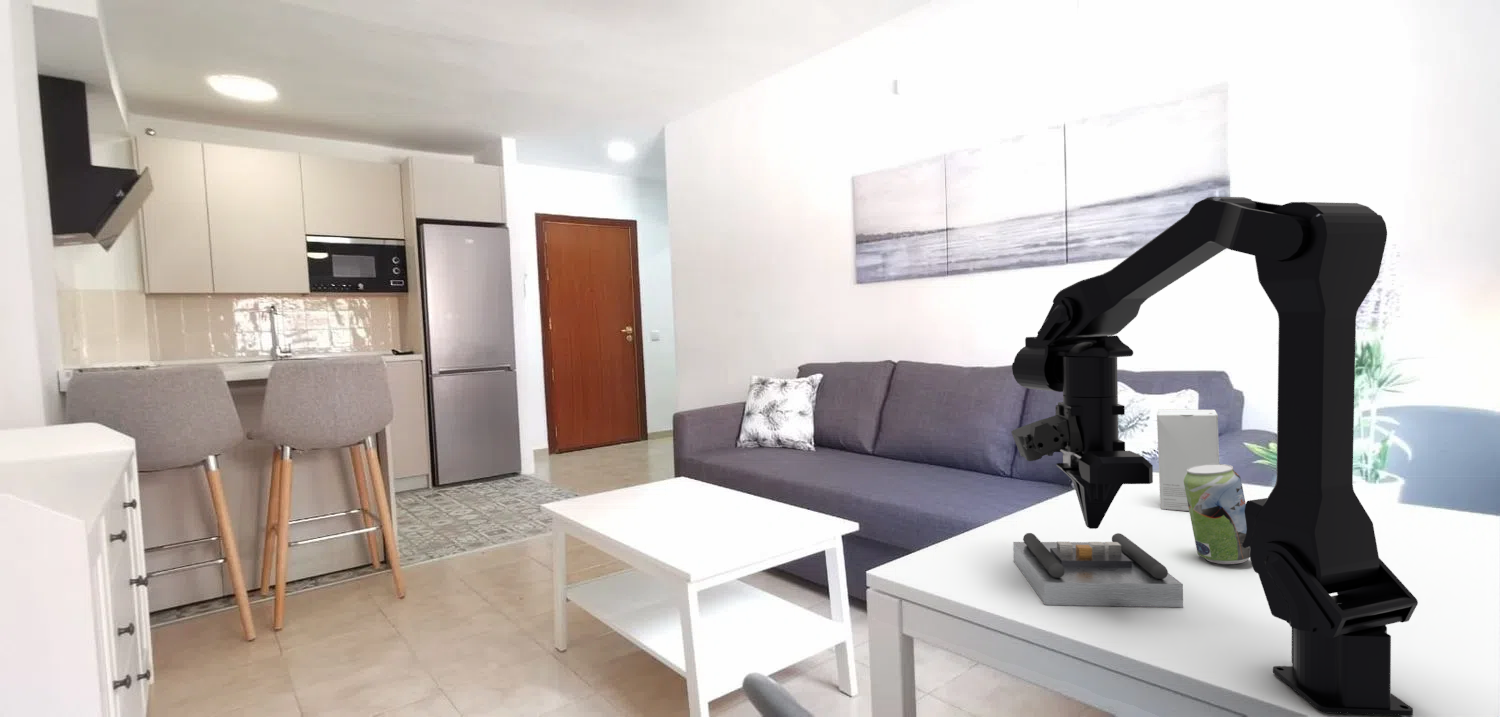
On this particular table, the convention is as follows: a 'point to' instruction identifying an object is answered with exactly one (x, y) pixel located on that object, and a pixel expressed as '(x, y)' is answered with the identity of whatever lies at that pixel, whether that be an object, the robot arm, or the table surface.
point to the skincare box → (1184, 450)
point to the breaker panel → (1096, 577)
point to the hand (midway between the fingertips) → (1092, 527)
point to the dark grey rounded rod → (1141, 557)
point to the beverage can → (1217, 513)
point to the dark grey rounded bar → (1044, 555)
